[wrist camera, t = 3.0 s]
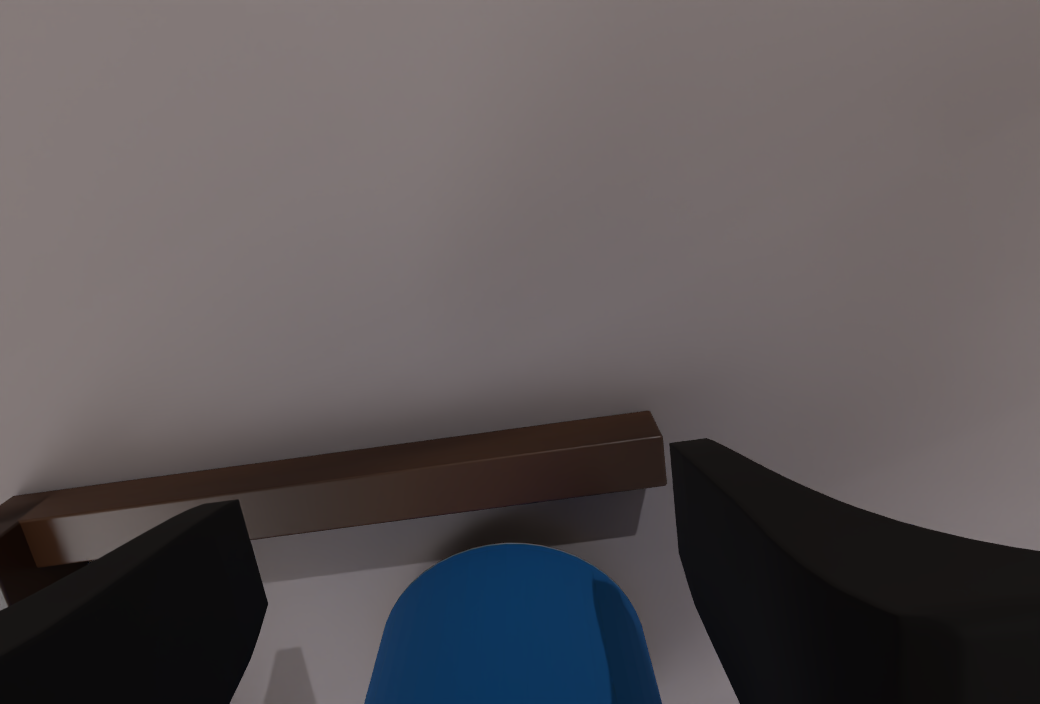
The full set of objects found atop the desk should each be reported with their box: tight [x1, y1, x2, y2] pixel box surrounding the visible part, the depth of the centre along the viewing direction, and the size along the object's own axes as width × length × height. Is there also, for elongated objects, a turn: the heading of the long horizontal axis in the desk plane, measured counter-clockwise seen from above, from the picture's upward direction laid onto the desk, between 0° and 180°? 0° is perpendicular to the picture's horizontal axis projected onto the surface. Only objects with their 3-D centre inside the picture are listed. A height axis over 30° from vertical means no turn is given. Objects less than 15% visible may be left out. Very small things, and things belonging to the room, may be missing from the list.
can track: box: [0, 411, 667, 611], centre depth 17 cm, size 15×11×2 cm
